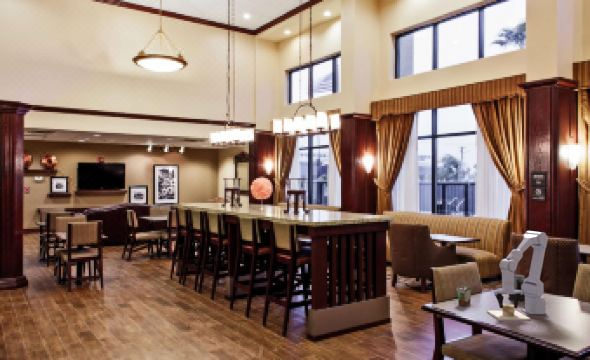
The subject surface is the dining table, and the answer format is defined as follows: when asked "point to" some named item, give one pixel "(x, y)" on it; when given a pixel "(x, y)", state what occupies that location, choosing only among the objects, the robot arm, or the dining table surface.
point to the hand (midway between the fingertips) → (508, 307)
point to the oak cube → (508, 309)
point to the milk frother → (518, 286)
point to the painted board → (516, 317)
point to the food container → (464, 295)
